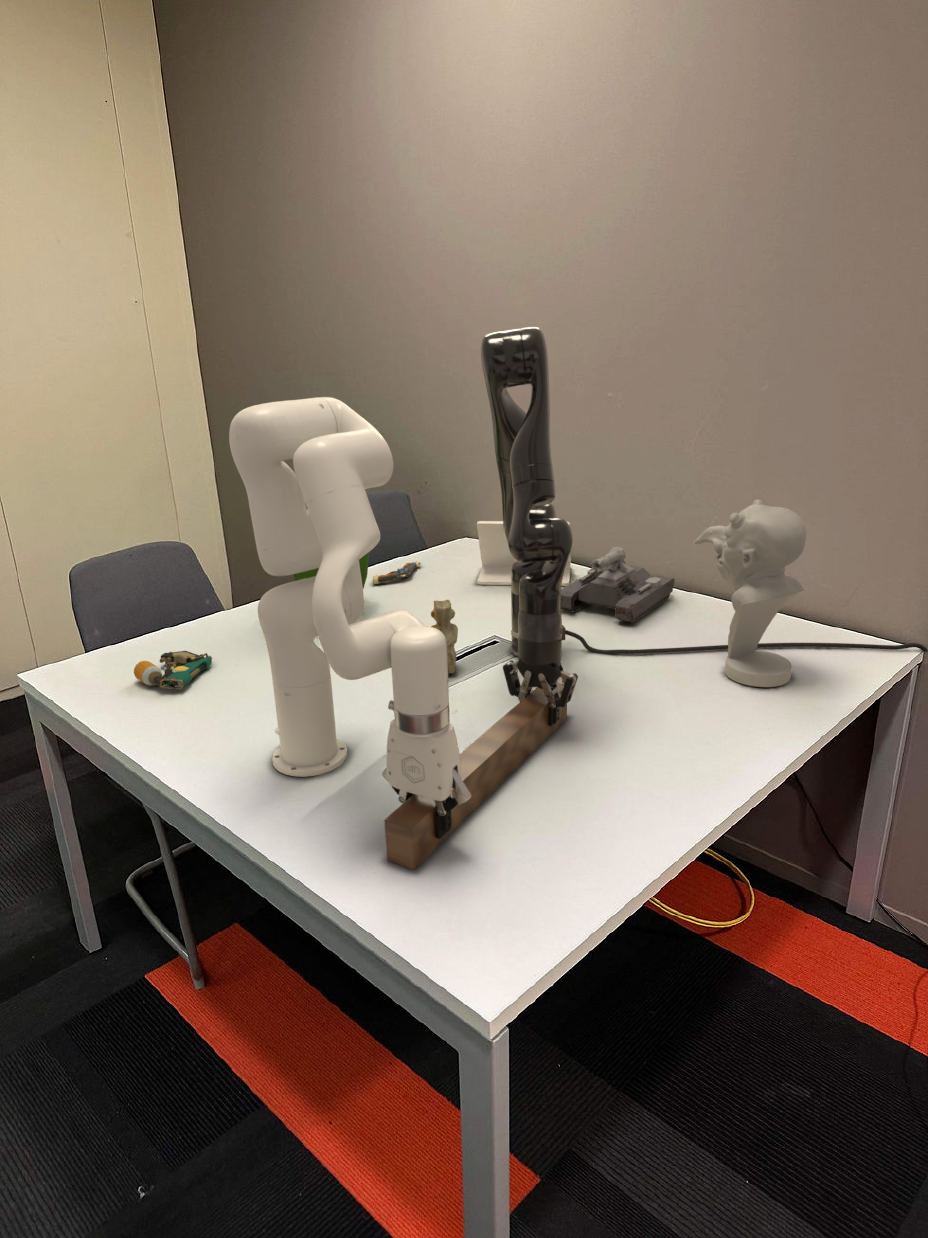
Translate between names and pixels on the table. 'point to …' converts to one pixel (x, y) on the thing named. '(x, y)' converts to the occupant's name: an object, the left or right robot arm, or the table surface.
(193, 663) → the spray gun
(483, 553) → the tablet stand
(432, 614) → the sculpture
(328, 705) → the left robot arm
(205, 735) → the table surface
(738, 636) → the bust sculpture
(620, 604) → the toy
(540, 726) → the bar
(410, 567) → the toy gun
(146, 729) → the table surface
